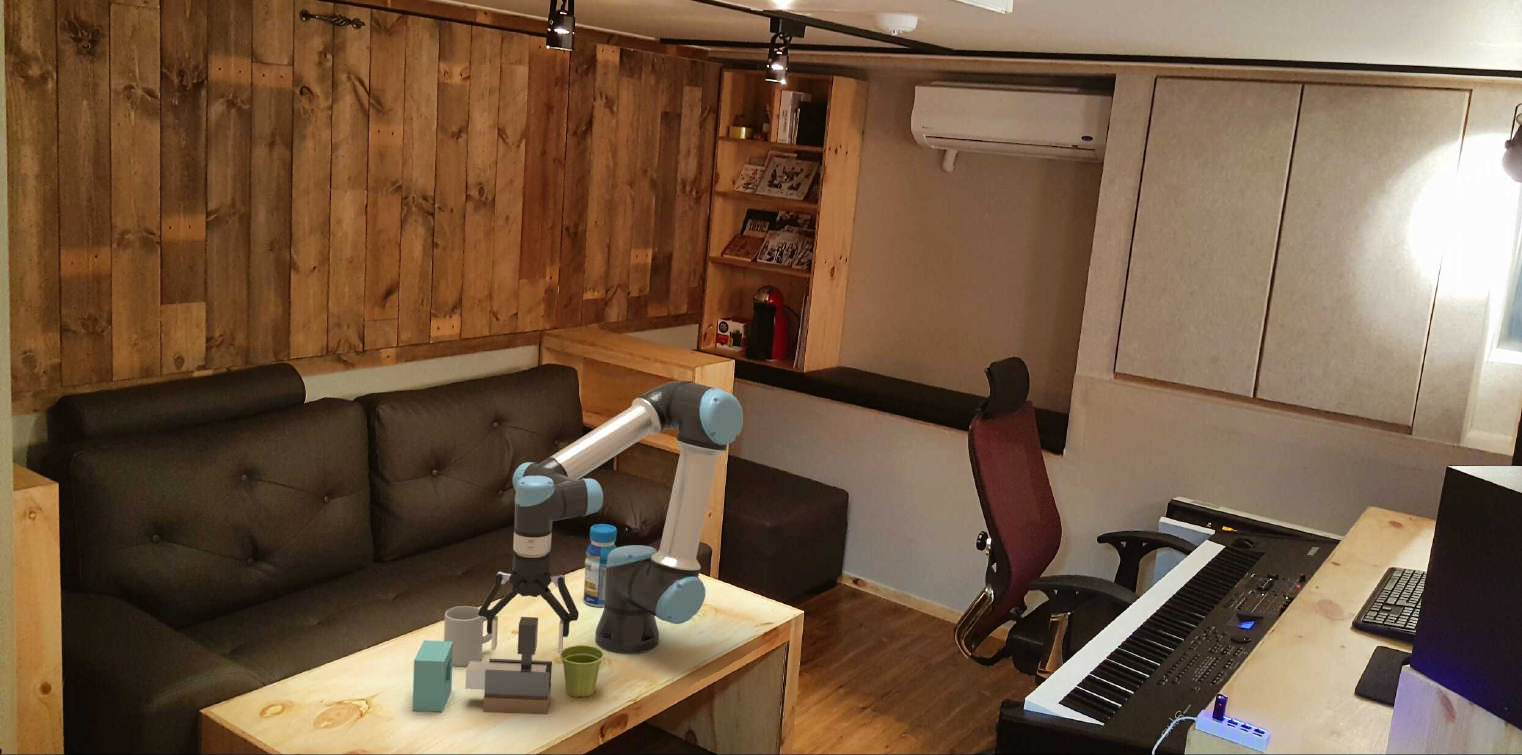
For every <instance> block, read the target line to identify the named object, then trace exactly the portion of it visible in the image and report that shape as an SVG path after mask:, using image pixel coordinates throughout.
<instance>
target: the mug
mask: <svg viewBox="0 0 1522 755" xmlns="http://www.w3.org/2000/svg"><path fill="white" fill-rule="evenodd" d="M479 610H480V608H479V607H476V606H468V605H463V606H462V605H461V606H454V607H451V608H449V609H447V610H446V611H445V613H444V629H443V633H444V634H443V641H451V642H453V659H452V667H463V666H465V667H467V666H468V664H469V661H478V662H482V659H483V645H484V644H486V643H489V642H490V641H492V634H488V633H487V634H486V635H484V634H483V633H484V622H487V618H486V617H483V616H479V615H478V613H479ZM483 635H484V636H483Z"/></svg>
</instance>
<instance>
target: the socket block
mask: <svg viewBox="0 0 1522 755" xmlns="http://www.w3.org/2000/svg"><path fill="white" fill-rule="evenodd" d="M452 659H453V642H451V641H444V640H427V639H424V640H423V642H422V643H421V646H420V648H419V649H418V651H417V654H416V655H415V658H414V660H413V681H412V682H413V683H412V685H413V686H412V688H413V689H412V690H413V691H412V711H413V712H429V711H433V712H434V711H443V712H444V710H445V706H446V705H447V702H448V700H447V699H449V698H450V697H449V696H450V695H451V693H452V682H453V666H452ZM445 704H446V705H445ZM443 709H444V710H443ZM433 712H432V713H433ZM434 713H435V712H434Z"/></svg>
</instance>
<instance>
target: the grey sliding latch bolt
mask: <svg viewBox="0 0 1522 755" xmlns="http://www.w3.org/2000/svg"><path fill="white" fill-rule="evenodd" d="M538 629H539V617H533V616H531V617H530V616H520V620H519V622H518V632H517V633H518V635H517V655H521V659H520V660H521V663H500V662H489V661H480V662H478V661H469V664H468V666H466V669H465V690H484V691H485V670H486V669H487V670H510V671H533V672H546V671H547V665H545V664H532V660H533V656H535V655H536V652H537V647H538V632H539V630H538Z"/></svg>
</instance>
